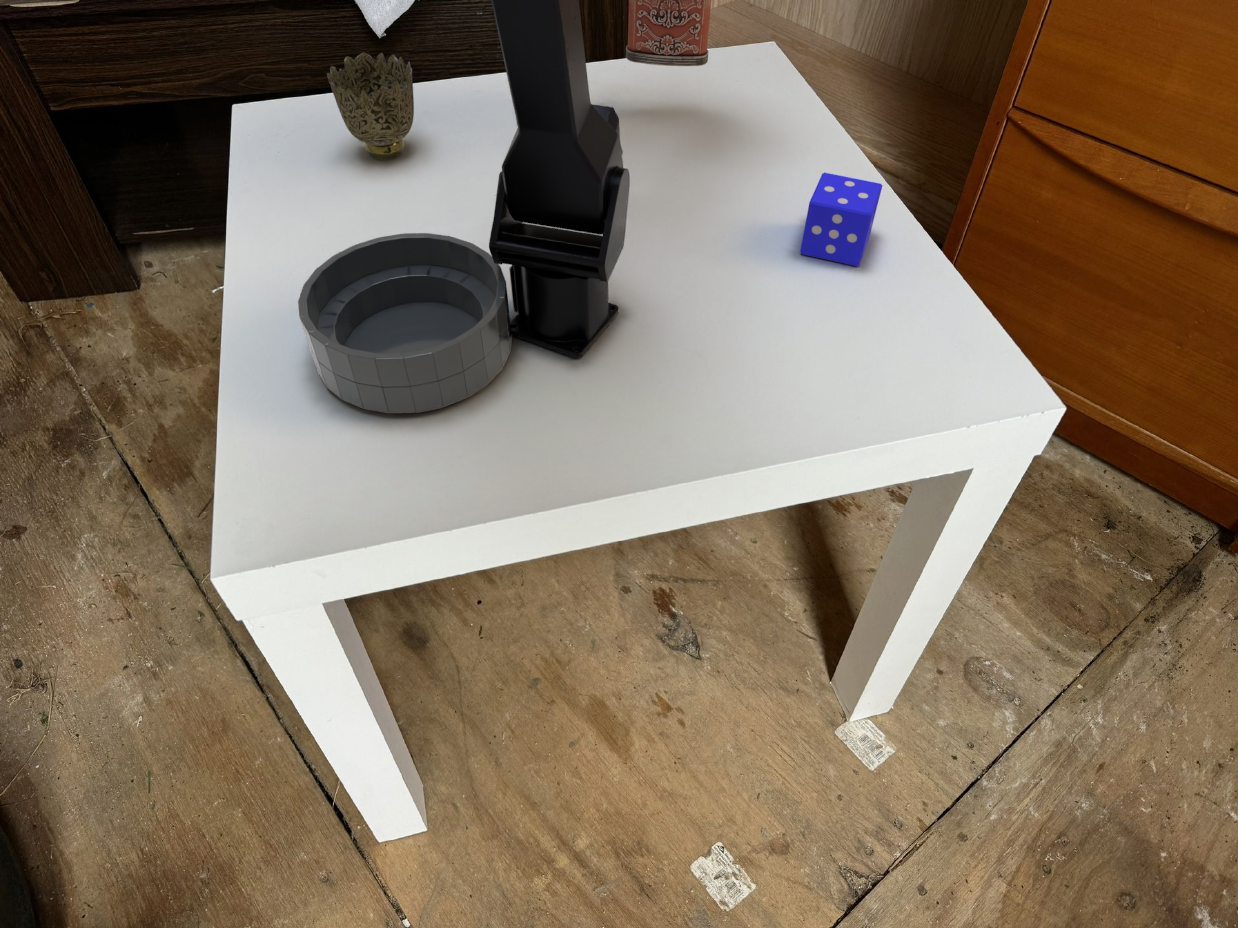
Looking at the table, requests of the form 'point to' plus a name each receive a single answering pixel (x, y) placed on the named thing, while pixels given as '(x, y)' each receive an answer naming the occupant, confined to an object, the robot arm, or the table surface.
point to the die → (840, 218)
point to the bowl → (407, 322)
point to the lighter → (668, 32)
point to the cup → (375, 101)
